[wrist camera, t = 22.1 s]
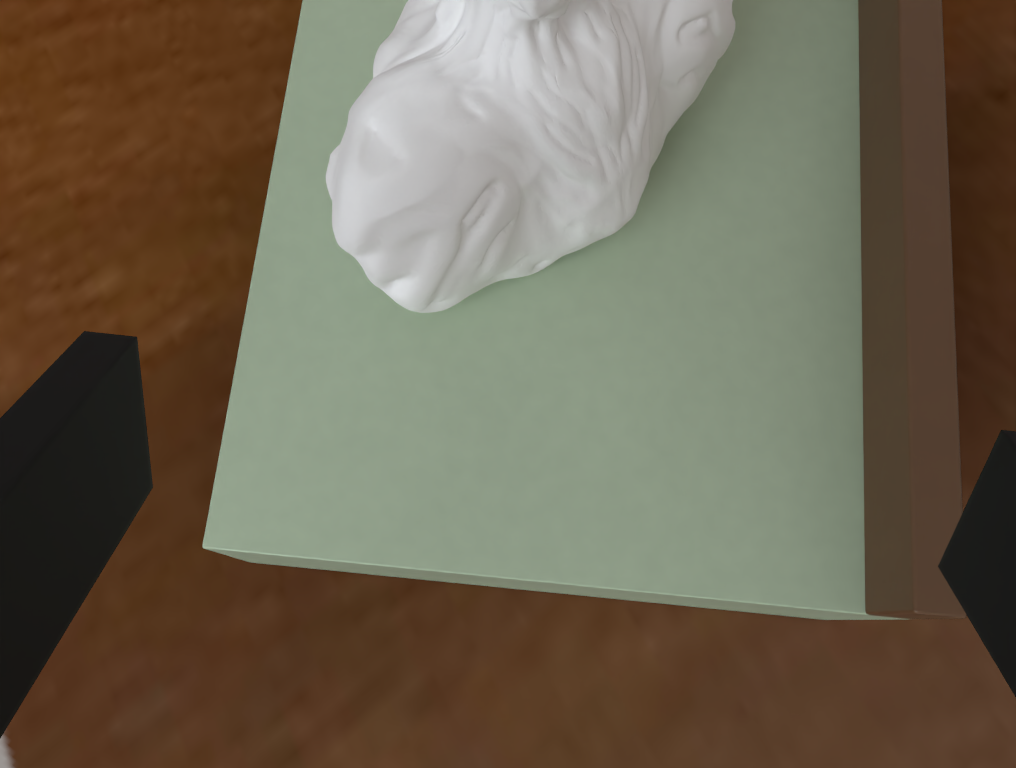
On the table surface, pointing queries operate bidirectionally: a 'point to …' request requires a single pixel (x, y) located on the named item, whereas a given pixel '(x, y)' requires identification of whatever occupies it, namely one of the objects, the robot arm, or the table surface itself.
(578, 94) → the bust
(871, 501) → the shoe shelf
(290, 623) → the table surface
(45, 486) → the robot arm
